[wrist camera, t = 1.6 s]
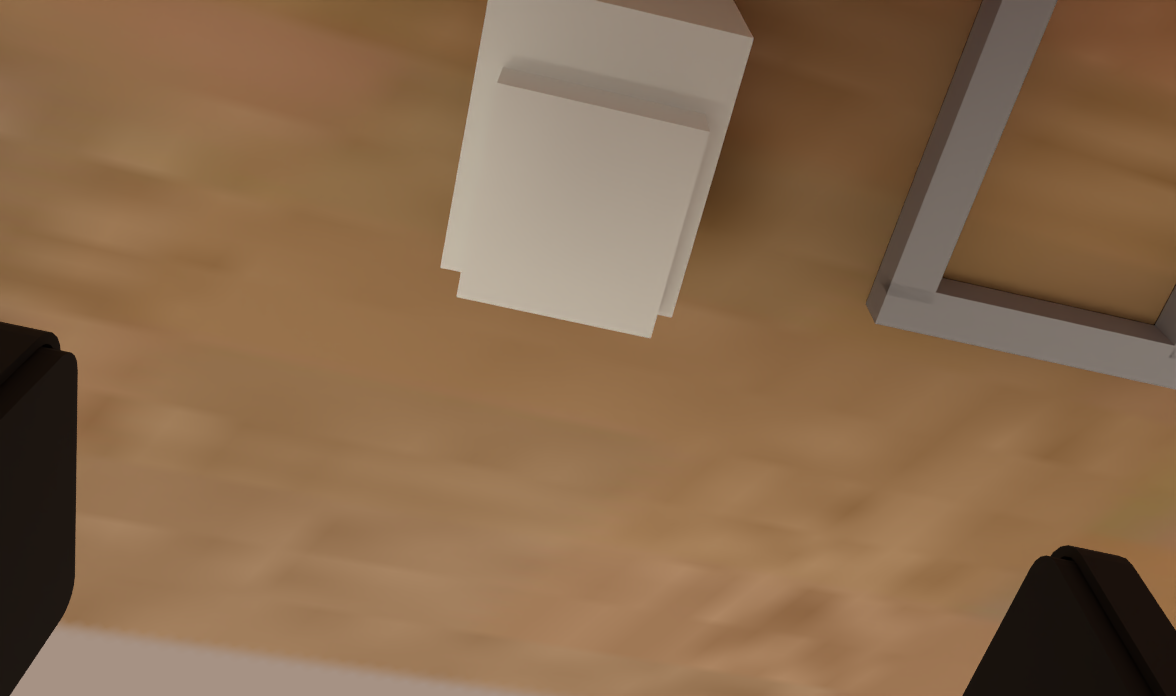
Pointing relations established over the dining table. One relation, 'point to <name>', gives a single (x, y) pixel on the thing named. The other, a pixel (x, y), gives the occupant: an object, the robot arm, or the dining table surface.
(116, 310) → the dining table surface
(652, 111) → the stepped cream block
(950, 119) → the pink toy truck
